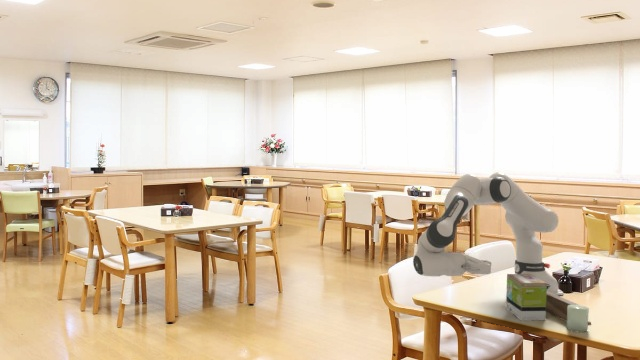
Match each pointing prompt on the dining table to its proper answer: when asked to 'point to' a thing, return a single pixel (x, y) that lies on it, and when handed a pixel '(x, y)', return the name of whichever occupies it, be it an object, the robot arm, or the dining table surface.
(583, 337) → the dining table surface
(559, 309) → the walnut rail
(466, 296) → the dining table surface
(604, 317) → the dining table surface
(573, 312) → the mint green canister
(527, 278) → the tea box
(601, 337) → the dining table surface
